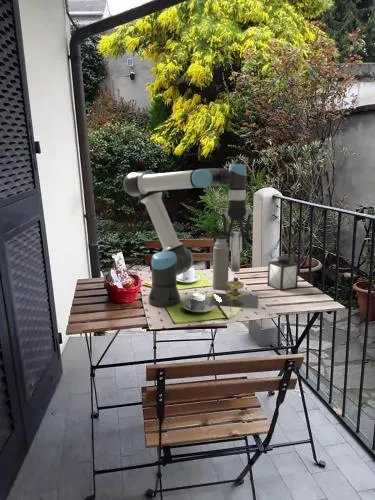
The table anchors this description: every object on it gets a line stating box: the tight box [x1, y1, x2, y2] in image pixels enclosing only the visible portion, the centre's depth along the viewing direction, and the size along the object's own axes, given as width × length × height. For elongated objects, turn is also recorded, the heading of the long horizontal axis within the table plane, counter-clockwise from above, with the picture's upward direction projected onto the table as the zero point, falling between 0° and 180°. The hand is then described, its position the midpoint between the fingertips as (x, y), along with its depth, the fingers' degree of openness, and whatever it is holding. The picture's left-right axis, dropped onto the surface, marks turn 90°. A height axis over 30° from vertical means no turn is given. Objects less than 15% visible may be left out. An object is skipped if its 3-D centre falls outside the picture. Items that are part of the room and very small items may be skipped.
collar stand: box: [208, 277, 259, 309], centre depth 193 cm, size 22×18×10 cm
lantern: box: [267, 235, 299, 292], centre depth 217 cm, size 11×11×28 cm
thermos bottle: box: [212, 235, 230, 292], centre depth 213 cm, size 8×8×28 cm
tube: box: [230, 231, 242, 273], centre depth 189 cm, size 4×4×18 cm
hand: (235, 250), depth 189 cm, fingers closed on tube, 4 cm apart
